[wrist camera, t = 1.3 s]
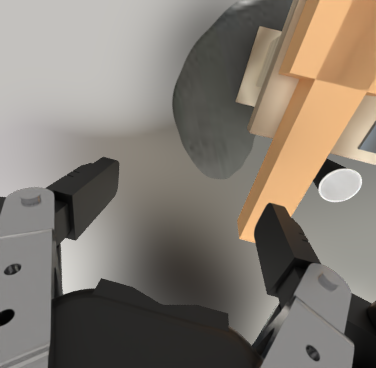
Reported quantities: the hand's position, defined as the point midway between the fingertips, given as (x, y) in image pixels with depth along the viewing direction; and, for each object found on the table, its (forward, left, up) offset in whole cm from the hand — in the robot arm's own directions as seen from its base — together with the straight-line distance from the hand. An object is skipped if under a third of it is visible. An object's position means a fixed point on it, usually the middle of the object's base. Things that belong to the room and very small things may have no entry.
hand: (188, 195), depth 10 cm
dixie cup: (-30, +8, -42) cm, 53 cm away
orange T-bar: (-8, -3, -10) cm, 13 cm away
